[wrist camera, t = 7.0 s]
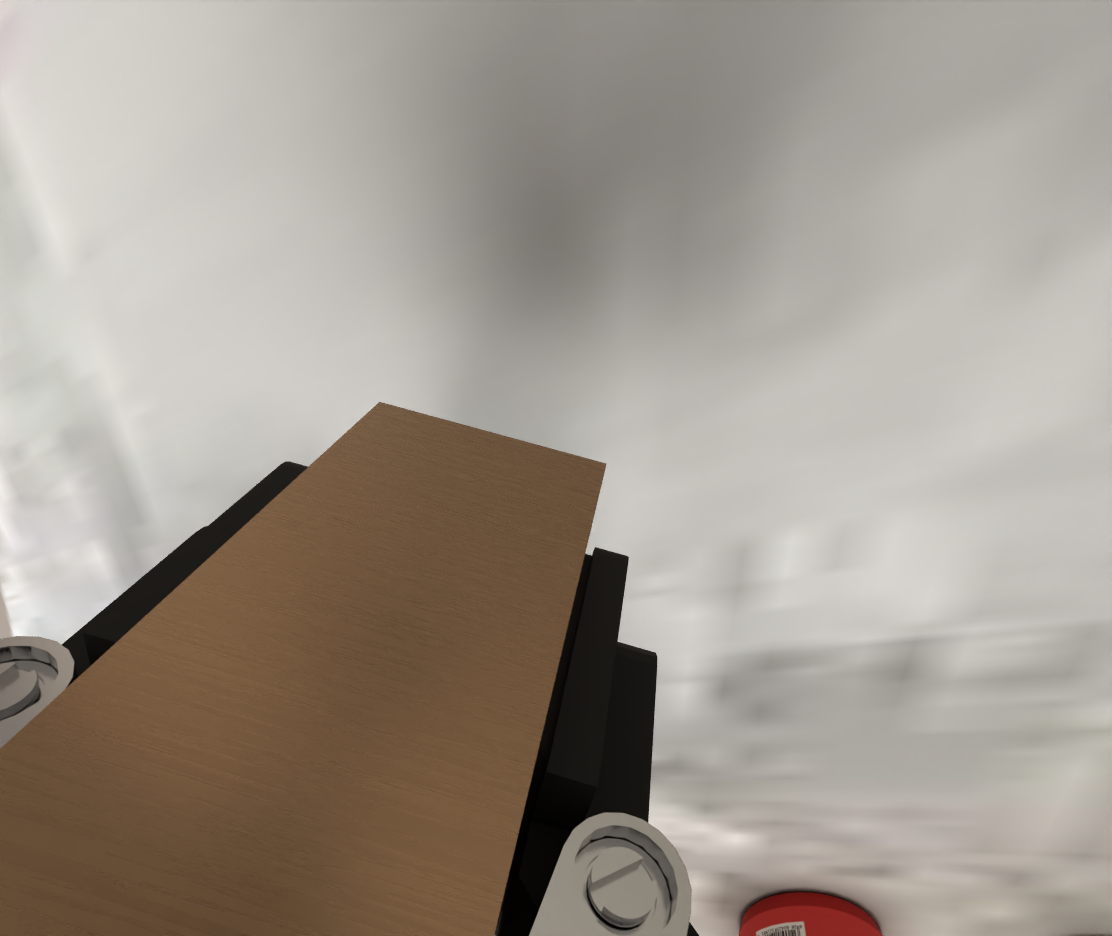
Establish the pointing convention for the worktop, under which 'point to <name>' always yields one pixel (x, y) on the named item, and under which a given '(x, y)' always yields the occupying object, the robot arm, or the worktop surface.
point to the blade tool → (316, 708)
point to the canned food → (806, 917)
